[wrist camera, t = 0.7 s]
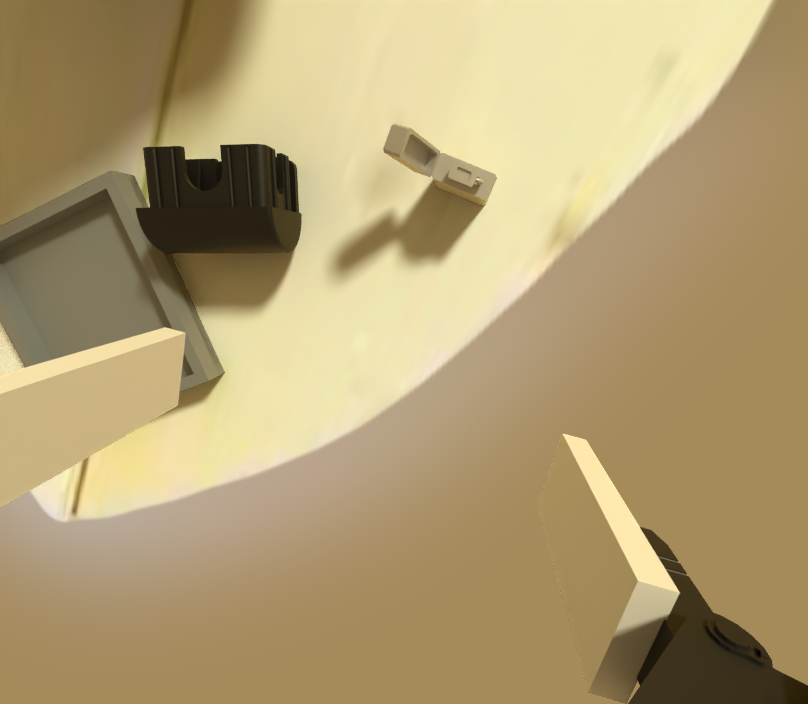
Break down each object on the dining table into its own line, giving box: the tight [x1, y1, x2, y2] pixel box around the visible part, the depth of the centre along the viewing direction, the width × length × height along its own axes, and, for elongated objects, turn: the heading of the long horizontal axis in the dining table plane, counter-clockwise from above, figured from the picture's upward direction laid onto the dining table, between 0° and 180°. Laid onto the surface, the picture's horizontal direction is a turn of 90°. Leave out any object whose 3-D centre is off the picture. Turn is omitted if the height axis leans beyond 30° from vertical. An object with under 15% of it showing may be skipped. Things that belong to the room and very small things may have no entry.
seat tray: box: [0, 171, 225, 391], centre depth 40 cm, size 18×16×3 cm
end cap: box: [136, 144, 301, 253], centre depth 34 cm, size 10×7×7 cm
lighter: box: [383, 124, 497, 206], centre depth 31 cm, size 7×2×8 cm, turn 67°
